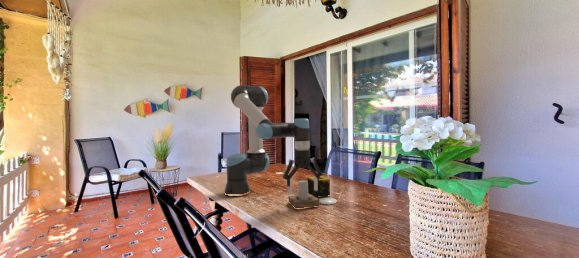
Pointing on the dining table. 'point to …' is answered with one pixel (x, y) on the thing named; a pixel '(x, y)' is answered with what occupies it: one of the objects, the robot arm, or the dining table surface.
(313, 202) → the socket block
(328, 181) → the candle
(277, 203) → the dining table surface
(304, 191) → the beverage can
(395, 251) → the dining table surface
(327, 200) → the white round domed part
